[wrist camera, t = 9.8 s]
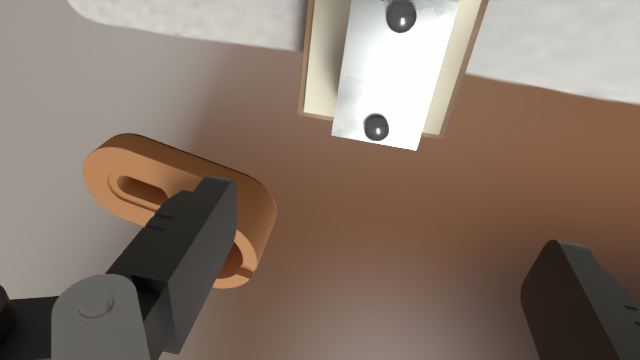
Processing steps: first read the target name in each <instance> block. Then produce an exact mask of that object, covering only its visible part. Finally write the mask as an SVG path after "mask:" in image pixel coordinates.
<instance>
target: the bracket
mask: <svg viewBox="0 0 640 360" xmlns="http://www.w3.org/2000/svg"><path fill="white" fill-rule="evenodd" d="M206 175H210V176H216V177H221V178H227V179H232V180H235V181H236V184H237V230H236V236H235V240H234V243H233V246H232V248H231V250H230V252H229V254H228V256H227V258H226V260H225V262H224V264H223V266H222V268H221V270H220V272H219V274H218V276H217V278H216V280H215V282H214V284H213V286H212V287H214V288H233V287H237V286H240V285H242V284H244V283H246V282H247V281H248V280H250V278H251V275H252V273H253V271H254V270H256V267H257V265H258V262H259V260H260V257H261V255H262V252H263V250H264V247H265V244H266V242H267V239H268V237H269V234H270V232H271V229H272V227H273V224H274V221H275V219H276V214H277V211H276V210H277V209H276V204H275V201H274V199H273V197H272V195H271V193H270V192H269V191H268V189H267V188H266V187H265V186H264V185H263V184H261V183H260V182H259V181H258V180H256V179H255V178H253V177H251V176H249V175H247V174H244V173H242V172H239V171H236V170H234V169H231V168H228V167H226V166H223V165H220V164H218V163H215V162H212V161H209V160H207V159H204V158H202V157H199V156H196V155H193V154H191V153H188V152H186V151H183V150H180V149H178V148H175V147H172V146H169V145H167V144H164V143H161V142H159V141H156V140H153V139H151V138H148V137H145V136H142V135H138V134H133V133H124V134H119V135H116V136H114V137H112V138H111V139H109V140H108V141H106V142H105V143H104V144H102V145H101V146H100V147H98V148H97V149H96V150H95V151H93V152H92V153H91V154H90V155H89V156H88V157H87V158H86V160H85V162H84V165H83V177H84V181H85V184H86V186H87V188H88V190H89V191H90V193H91V195H92V196H93V197H94V198H95V199H96V201H97V202H98V203H99V204H101V205H102V206H103V207H104V208H105V209H106V210H108V211H109V212H111V213H113V214H114V215H116V216H118V217H120V218H123V219H125V220H128V221H131V222H134V223H136V224H139V225H142V226H145V225H146V223H147V222H148V221H149V220H150V218H151V217H152V216H153V217H154V214H155V212H156V211H157V210H158V209H159V208H160V206H161V205H162V204H163V203H164V202H165V200H167V199H168V198H170V197H172V196H174V195H175V194H177V193H179V192H180V191H182V190H186V191H191V192H193V191H194V190H195V188H196V187H197V186H198V184H199V183H200V182H201V180H202V179H203V178H204V176H206Z"/></svg>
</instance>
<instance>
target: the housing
mask: <svg viewBox="0 0 640 360" xmlns="http://www.w3.org/2000/svg"><path fill="white" fill-rule="evenodd" d="M458 5H459V1H458V0H352V1H351V8H350V15H349V21H348V28H347V35H346V41H345V48H344V55H343V61H342V68H341V75H340V81H339V88H338V94H337V101H336V108H335V114H334V121H333V128H332V135H333V136H338V137H345V138H350V139H356V140H361V141H367V142H373V143H378V144H384V145H390V146H395V147H401V148H407V149H412V150H416V149H417V145H418V142H419V139H420V135H421V132H422V128H423V125H424V121H425V118H426V115H427V111H428V108H429V104H430V101H431V97H432V94H433V91H434V87H435V84H436V80H437V77H438V74H439V70H440V67H441V63H442V60H443V56H444V53H445V50H446V46H447V43H448V39H449V36H450V32H451V29H452V26H453V22H454V19H455V15H456V12H457V8H458Z"/></svg>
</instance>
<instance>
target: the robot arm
mask: <svg viewBox="0 0 640 360" xmlns="http://www.w3.org/2000/svg"><path fill="white" fill-rule="evenodd" d="M236 230H237V184H236V181H235V180H232V179H227V178H221V177H216V176H210V175H206V176H204V178H203V179H202V180H201V182H200V183H199V184H198V186H197V187H196V188H195V190H194V191H193V192H191V191H186V190H182V191H180V192H179V193H177V194H175V195H174V196H172V197H170V198H168V199H167V200H165V202H164V203H163V204H162V205H161V206H160V208H159V209H158V210H157V211H156V212H155V214H154V217H153V216H152V217H151V218H150V220H149V221H148V222H147V223H146V225H145V228H142V229H141V231H140V232H139V233H138V234H137V236H136V237H135V238H134V239H133V240H132V242H131V243H130V244H129V245H128V246H127V248H126V249H125V250H124V251H123V253H122V254H121V255H120V256H119V257H118V259H117V260H116V261H115V262H114V263H113V265H112V266H111V267H110V268H109V269H108V271H107V272H106V273H105V274H100V275H95V276H92V277H88V278H85V279H83V280H80V281H79V282H77V283H75V284H73V285H72V286H70V287H69V288H68V289H66V290H65V291H64V292H63V293H62V294H61V295H60V296H54V297H41V298H29V299H13V300H10V299H9V298H8V295H7V293H6V291H5V290H4V288H3V287H2V286H1V285H0V360H158V359H159V357H160V355H161V354H162V352H163V351H165V352H169V353H174V354H179V352H180V350H181V348H182V346H183V344H184V342H185V340H186V338H187V336H188V334H189V332H190V330H191V328H192V326H193V324H194V322H195V320H196V318H197V316H198V314H199V312H200V310H201V308H202V306H203V304H204V302H205V300H206V298H207V296H208V294H209V292H210V290H211V288H212V286H213V284H214V282H215V280H216V278H217V276H218V274H219V272H220V270H221V268H222V266H223V264H224V262H225V260H226V258H227V256H228V254H229V252H230V250H231V248H232V246H233V243H234V240H235V236H236ZM521 305H522V308H523V311H524V314H525V317H526V320H527V323H528V326H529V329H530V332H531V335H532V337H533V340H534V343H535V346H536V349H537V352H538V355H539V358H540V360H640V312H638V307H637V305H636V304H635V302H634V301H633V299H632V298H631V296H630V295H629V293H628V291H627V290H626V288H624V287H623V286H622V285H621V284H620V283H619V282H618V281H617V280H616V279H615V278H614V277H613V276H612V275H610V274H609V273H608V272H607V271H606V270H602V269H601V267H600V265H599V264H598V262H597V260H596V259H595V257H594V255H593V254H592V252H591V251H590V249H589V248H588V247H587V246H585V245H579V244H574V243H569V242H563V241H557V240H550V241H548V242H547V243H546V244H545V246H544V247H543V249H542V250H541V252H540V254H539V256H538V257H537V259H536V261H535V262H534V264H533V266H532V267H531V269H530V271H529V273H528V274H527V276H526V278H525V279H524V282H523V284H522V287H521Z"/></svg>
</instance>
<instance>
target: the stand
mask: <svg viewBox="0 0 640 360" xmlns="http://www.w3.org/2000/svg"><path fill="white" fill-rule="evenodd" d="M351 1H352V0H308V6H307V17H306V28H305V39H304V50H303V61H302V72H301V83H300V94H299V106H298V115H301V116H307V117H313V118H318V119H324V120H331V121H334V114H335V108H336V101H337V94H338V88H339V81H340V75H341V68H342V61H343V55H344V48H345V41H346V35H347V28H348V21H349V15H350V8H351ZM458 1H459V5H458V8H457V12H456V15H455V19H454V22H453V26H452V29H451V32H450V36H449V39H448V43H447V46H446V50H445V53H444V56H443V60H442V63H441V67H440V70H439V74H438V77H437V80H436V84H435V87H434V91H433V94H432V97H431V101H430V104H429V108H428V111H427V115H426V118H425V121H424V125H423V128H422V132H421V135H420V136H424V137H430V138H435V139H441V140H443V139H444V136H445V133H446V129H447V126H448V123H449V120H450V117H451V114H452V111H453V108H454V105H455V102H456V99H457V96H458V92H459V89H460V87H461V84H462V81H463V78H464V74H465V71H466V68H467V65H468V62H469V59H470V56H471V53H472V50H473V47H474V44H475V41H476V38H477V35H478V32H479V29H480V26H481V23H482V20H483V16H484V13H485V10H486V7H487V4H488V1H489V0H458Z"/></svg>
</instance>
